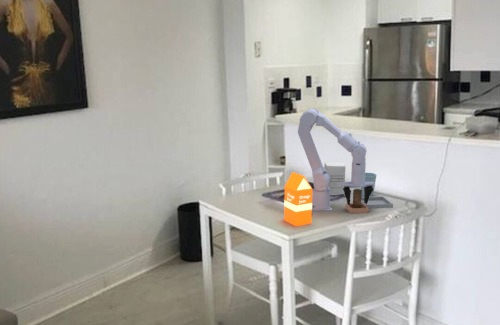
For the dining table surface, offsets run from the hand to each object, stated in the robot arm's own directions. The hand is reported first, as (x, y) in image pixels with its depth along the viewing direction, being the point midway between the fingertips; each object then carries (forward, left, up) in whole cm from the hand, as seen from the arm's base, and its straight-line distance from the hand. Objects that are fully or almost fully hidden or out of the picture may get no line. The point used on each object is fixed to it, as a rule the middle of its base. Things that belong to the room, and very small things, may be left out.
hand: (357, 203), depth 224 cm
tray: (+11, +8, -4) cm, 14 cm away
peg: (0, 0, -3) cm, 3 cm away
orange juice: (-28, -10, -4) cm, 30 cm away
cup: (+13, +24, -4) cm, 28 cm away
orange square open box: (0, 0, -4) cm, 4 cm away
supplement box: (-2, +29, -4) cm, 29 cm away
